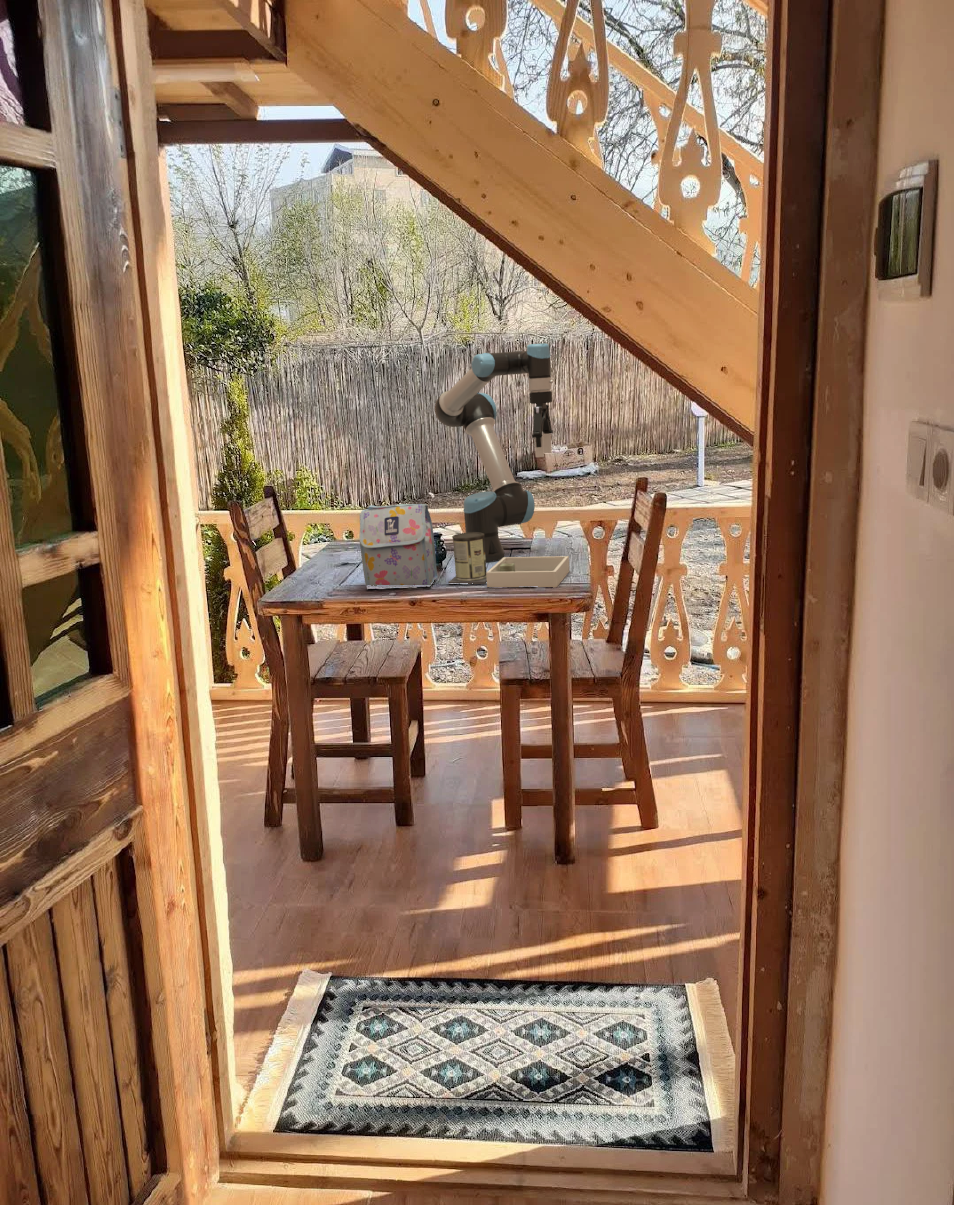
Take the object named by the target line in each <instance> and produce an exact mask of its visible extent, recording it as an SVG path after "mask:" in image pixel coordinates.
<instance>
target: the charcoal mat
mask: <svg viewBox="0 0 954 1205" xmlns="http://www.w3.org/2000/svg"><path fill="white" fill-rule="evenodd" d="M486 582H487V577H486V578H484V579H481V580H475V581H460V580H457V579H456V575H455V576H454V577H453V578H452V579H450V580H449V581H448V584H449V583H468V584H472V583H473V584H485V585H487V583H486Z"/></svg>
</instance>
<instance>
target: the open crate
mask: <svg viewBox="0 0 954 1205" xmlns="http://www.w3.org/2000/svg"><path fill="white" fill-rule="evenodd" d="M508 563H515V572H500V566H501V565H502V564H508ZM569 572H570V556H567V555H566V556H565V555H564V556H563V555H561V556H560V555H559V556H555V555H554V556H508V557H507V556H505V557H503V558H502V559H501V560H498V562H496V563H495V564H494V565H493V566H492V567H491V568H489V570H486V577H487V583H486V588H487V587H519V586H538V587H553V589H555V588H557V587H559V585H560V584H561V583H562V581H563V580H564V579H565V578H566V576H567V575H568V574H569Z"/></svg>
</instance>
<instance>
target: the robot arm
mask: <svg viewBox="0 0 954 1205" xmlns="http://www.w3.org/2000/svg"><path fill="white" fill-rule="evenodd" d="M551 356H552V355H551V353H550V345H549V344H548V343H544V342H543V343H531V344H530V343H529V344H528V345H526V350H515V351H502V352H483V353H478V354H476V355H474V356H473V359H472V361H471V368H470V369H469V370H468V371H467V372H466V373H465V374H464V375H463V376H462V377H461V378H460V379H459V380H457V382H456V383H455V384H454V385H453V386H452V387H451V388H450V389H449V390H447V391H446V390H445V391H443V393H441V394H440V395H439V396H438V397H437V399H436V401H435V404H434V414H435V417H436V418H437V420H438V421H439V422H440V423H441V424H442V425H444V426H446V427H449V428H450V427H451V428H457V427H459V428H460V427H463V430H464V431H465V433H466V434H467V435H469V436H471V437H472V440H473V442H474V443H473V444H474V446H475V449H476V450H477V452H478V453H477V454H478V455H479V458H480V460H481V464H482V465H483V468H484V471H485V473H486V475H487V478H488V480H489V483H490V485H491V488H492V491H484V492H483V491H481V492H477V493H476V492H475V493H473V494H470V495H468V496H467V497H465V498H464V500H463V513H464V526H465V527H464V530H465V533H468V532H479V533H484V544H485V558H486V563H491V562H497V561H498V562H499V561H500V560H501V559H502V558H503V557H506V556H505V551H504V550H505V549H504V548H503V545H502V543H501V540H500V536H499V528H503V527H509V526H514V525H515V526H516V525H522V524H525V523H528V522H529V521H530V520H531V519H532V518H533V516H534V513H535V507H536V506H535V505H536V504H535V499H534V495H533V493H532V492H531V491H529V490H527V489H526V490H525V489H524V488H523V487H522V483H520V482H518V481H516V480H515V478H514V475H513V473H512V471H511V468H510V465H509V464H508V461H507V458H506V456H505V453H504V451H503V448H502V446H501V443H500V441H499V438H498V436H497V433H496V431H495V428H494V426H495V424H496V419H497V416H498V414H497V413H498V412H497V405H496V402H495V401H494V399H493V397H492V396H491V395H489V394H487V393H485V392H480V391H482V390H483V388H485V387H486V385H488V384H489V382H491V381H492V380H493V379H494V378H495V377H497V376H498V377H499V376H511V375H526V374H527V375H528V390H529V392H530V393H529V403H530V404H533V405H535V406H533V429H532V435H531V437H532V438H534V450H535V452H534V453H535V458H544V457H545V454H551V453H552V452H553V451H552V439H551V438H552V436H551V434H553V433H554V432H553V428H552V425H551V424H552V423H551V416H550V408H549V406H550V405H549V404H550V403H552V402H553V392H552V391H551V390H552V384H553V383H554V380H552V370H551V369H552V367H551ZM548 403H549V404H548Z"/></svg>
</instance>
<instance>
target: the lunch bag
mask: <svg viewBox="0 0 954 1205" xmlns="http://www.w3.org/2000/svg"><path fill="white" fill-rule="evenodd" d="M359 547H360V548H359V549H360V555H361V562H362V563H361V564H362V570H363V571H362V572H363V576H364V577H363V579H364V584H365V586H366V585H371V586H373V585H374V586H377V585H431V583H432V582H434V578H439V576H438V571H437V560H436V547H435V539H434V527H433V521H432V518H431V514H430V510H429V506H428V504H426V503H416V504H415V503H409V504H407V503H404V504H403V503H402V504H401V503H400V504H394V505H382V506H381V505H380V506H377V505H374V504H373V505H369V506H368V508H366V509H362V510H360V513H359ZM434 583H435V582H434Z"/></svg>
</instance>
